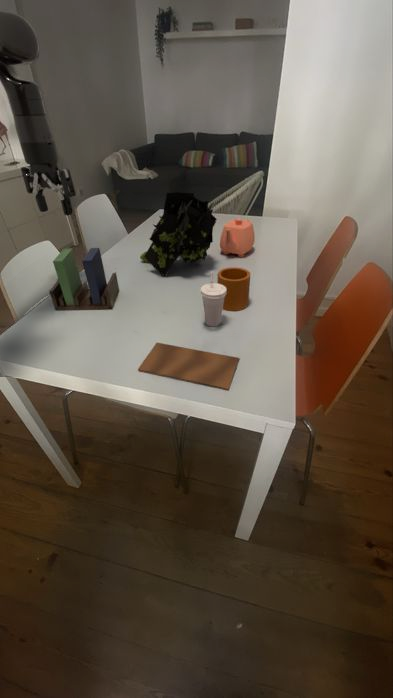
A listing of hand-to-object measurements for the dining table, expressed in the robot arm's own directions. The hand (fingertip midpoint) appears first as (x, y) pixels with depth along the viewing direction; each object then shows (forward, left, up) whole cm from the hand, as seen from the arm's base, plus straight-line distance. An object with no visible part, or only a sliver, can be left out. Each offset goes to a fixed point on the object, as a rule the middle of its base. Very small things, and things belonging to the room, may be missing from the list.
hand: (56, 213), depth 83 cm
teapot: (+52, +30, -23) cm, 64 cm away
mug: (+48, -7, -23) cm, 54 cm away
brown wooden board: (+35, -35, -23) cm, 55 cm away
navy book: (+9, -5, -22) cm, 24 cm away
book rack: (+5, -5, -23) cm, 24 cm away
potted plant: (+30, +18, -23) cm, 42 cm away
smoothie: (+41, -18, -23) cm, 50 cm away
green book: (+1, -5, -22) cm, 23 cm away
